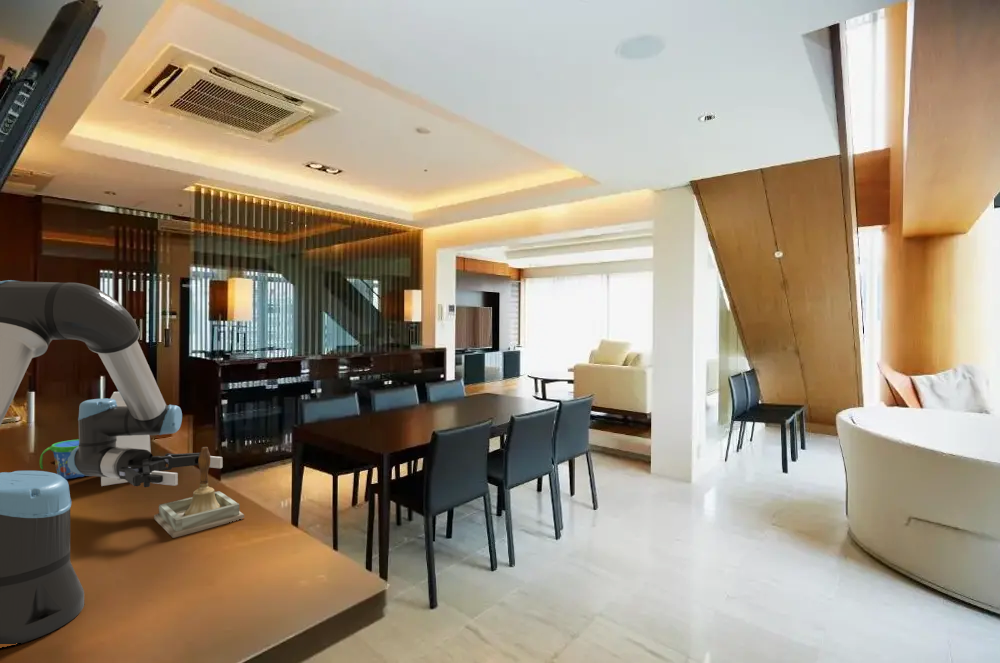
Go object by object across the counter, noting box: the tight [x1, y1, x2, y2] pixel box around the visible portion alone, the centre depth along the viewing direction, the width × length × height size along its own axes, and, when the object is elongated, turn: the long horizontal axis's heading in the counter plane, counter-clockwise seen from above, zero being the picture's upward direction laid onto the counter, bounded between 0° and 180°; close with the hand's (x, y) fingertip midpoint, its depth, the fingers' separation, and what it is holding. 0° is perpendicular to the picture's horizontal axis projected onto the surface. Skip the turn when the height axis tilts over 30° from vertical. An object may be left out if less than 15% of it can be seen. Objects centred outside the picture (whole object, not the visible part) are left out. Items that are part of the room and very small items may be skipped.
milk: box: [100, 391, 152, 487], centre depth 150 cm, size 12×12×26 cm
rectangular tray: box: [153, 490, 245, 539], centre depth 121 cm, size 15×15×4 cm
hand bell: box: [184, 446, 222, 516], centre depth 122 cm, size 8×8×16 cm
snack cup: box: [39, 438, 87, 480], centre depth 151 cm, size 16×10×10 cm
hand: (200, 470), depth 121 cm, fingers open, 13 cm apart
